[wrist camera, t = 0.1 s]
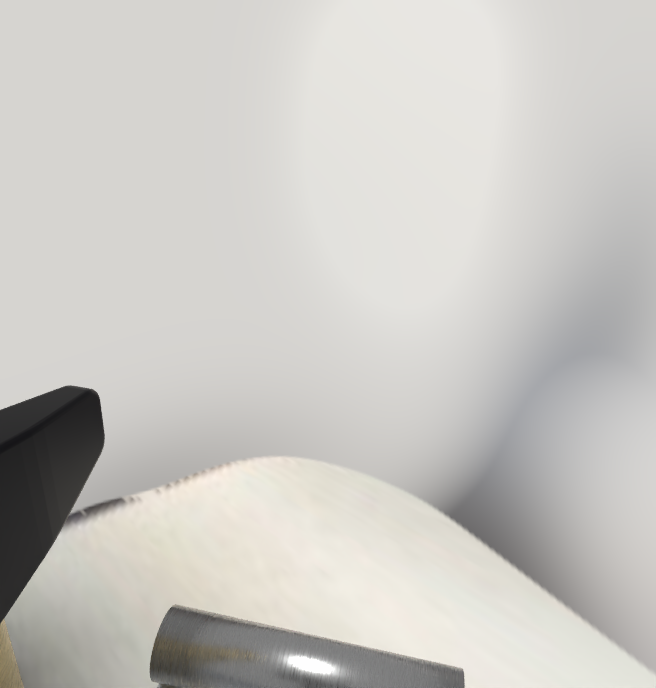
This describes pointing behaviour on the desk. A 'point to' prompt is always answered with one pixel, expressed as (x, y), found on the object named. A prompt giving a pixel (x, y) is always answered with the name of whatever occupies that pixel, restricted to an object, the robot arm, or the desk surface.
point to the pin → (8, 662)
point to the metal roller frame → (277, 658)
